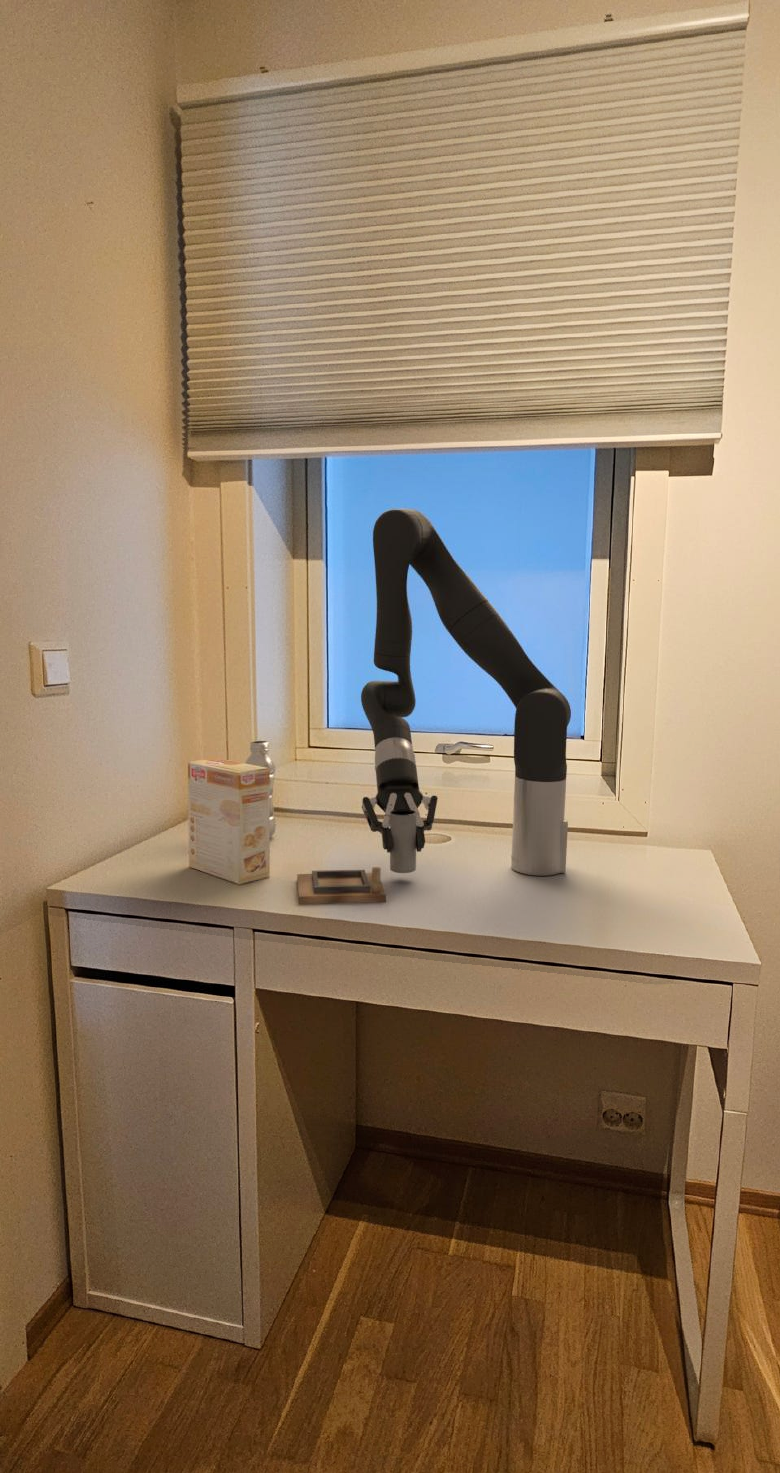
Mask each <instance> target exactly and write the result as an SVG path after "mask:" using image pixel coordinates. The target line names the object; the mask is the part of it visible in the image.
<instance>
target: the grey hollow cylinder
mask: <svg viewBox="0 0 780 1473" xmlns="http://www.w3.org/2000/svg"><path fill="white" fill-rule="evenodd" d="M389 828H390V830H391V839H392V851H391V852H390V853H389V870H390V871H392V872H393V873H396V874H410V873H414V872H415V871H417V850H416V812H415V811H413V810H408V809H398V810H393V811H391V812H390V827H389Z"/></svg>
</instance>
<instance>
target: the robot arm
mask: <svg viewBox="0 0 780 1473" xmlns="http://www.w3.org/2000/svg"><path fill="white" fill-rule="evenodd" d="M372 546H373V547H372V548H373V557H374V558H373V559H374V560H373V561H374V572H375V574H374V575H375V592H376V595H375V596H376V620H375V621H376V622H375V636H374V637H375V638H374V647H373V664H374V666H375V667H376V668H377V669H379V670H382V671H386V672H390V673H392V674H394V675H396V676H397V681H389V680H371V681H368V682H366V684H365V685H364V686H363V688H362V690H361V692H360V693H361V694H360V701H361V706H362V709H363V712H364V715H365V717H366V719H367V720H368V723H369V725H370V728H371V731H372V733H373V741H374V742H373V743H374V770H375V776H376V777H375V779H376V787H377V788H376V789H377V793H376V795H375V797H371V798H369V797H368V796H364V797H363V798H362V799H361V800H362V802H361V808H362V811H363V814H364V816H365V819H366V822H367V823H368V826H369V829H370V831H371V832H372V833H374V832H377V833H378V832H379V833H380V834H381V840H382V848H383V850H386V852H387V854H388V853H389V854H390V852H391V851H392V839H391V830H390V812H391V811H393V810H398V809H408V810H413V811H415V812H416V853H418V852H419V853H421V852H422V849H424V848H425V845H426V837H425V831H431V830H432V828H433V823H434V819H435V816H436V815H435V814H436V809H437V804H438V798H439V797H438V796H437V795H431V796H425V795H423V793H422V792H421V790H420V786H419V779H418V778H419V777H418V769H417V761H416V755H415V751H414V749H413V741H412V733H411V727H410V724H409V722H408V721H407V720H406V719H405V718H407V717H409V716H411V715H412V713H413V712H414V710H415V708H416V704H417V703H416V702H417V701H416V699H417V698H416V695H415V689H414V685H413V679H412V672H411V654H412V653H411V652H412V651H411V650H412V641H413V619H412V614H411V613H412V612H411V608H410V603H409V597H408V574H409V567H411V568H412V569H413V570H414V571H415V573H416V574H417V575H418V576H419V577H420V578H421V579H422V581H423V582H424V583H425V585H426V587H427V589H428V590H429V593H430V596H431V597H432V600H433V603H434V606H435V609H436V611H437V614H438V616H439V618H440V621H441V623H442V624H443V626H444V628H445V629H446V631H447V632H448V634H450V636H451V637H452V638H453V640H454V641H455V643H456V644H457V645H458V646H459V647H460V648H461V650H462V651H463V652H464V653H465V654H466V656H468V657H469V658H470V659H471V660H472V662H474V663H475V664H476V665H478V666H479V668H480V669H482V670H483V671H484V672H485V673H486V674H488V675H489V676H490V677H491V678H493V680H494V681H496V682H497V684H498V685H499V686H500V687H501V688H502V689H503V691H504V692H505V694H506V695H507V697H508V698H509V699H510V701H511V702H512V704H513V705H514V708H515V709H516V710H515V714H514V730H513V763H514V792H513V813H512V814H513V817H512V836H511V837H512V841H511V866H510V867H511V869H512V870H513V871H515V872H516V873H517V872H518V873H520V874H525V875H528V876H529V875H530V876H541V877H543V876H553V875H554V876H555V875H558V874H560V873H563V874H565V873H566V871H567V870H566V869H567V852H568V851H567V848H568V831H569V830H568V829H569V822H568V821H567V819H565V812H566V811H565V810H566V791H567V790H566V788H567V776H568V775H567V772H568V770H567V769H568V764H567V739H568V738H567V735H568V726H569V724H570V722H571V718H572V710H571V709H572V708H571V706H570V703H569V701H568V699H567V698H566V696H565V695H564V694H563V693H562V692H561V691H560V690H559V689H558V688H557V687H556V686H555V685H554V684H553V683H552V682H551V681H550V680H549V679H548V678H547V677H546V676H545V674H543V673H542V671H541V670H539V668H538V667H537V666H536V665H535V664H534V663H533V662H532V660H531V659H530V657H529V656H528V655H527V653H526V652H525V650H524V648H523V647H522V645H521V643H520V642H519V641H518V639H517V638H516V636H515V635H514V633H513V631H512V630H511V629H510V627H509V626H508V625H507V623H506V622H505V620H504V618H502V616H501V615H500V613H499V612H498V611H497V610H496V608H495V607H494V605H492V604H491V602H490V601H489V600H488V598H487V597H486V596H485V595H484V594H483V592H481V590H480V589H479V587H477V585H476V584H475V583H474V582H473V580H472V579H471V578H470V576H469V575H468V574H467V573H466V572H465V570H464V569H463V568H462V567H461V566H460V565H459V563H458V562H457V560H455V558H454V557H453V555H452V554H451V552H450V551H449V549H448V547H447V546H446V544H445V543H444V541H443V540H442V538H441V537H440V534H438V532H437V530H436V528H435V526H434V524H432V522H431V521H430V520H429V518H428V517H427V516H426V515H425V514H424V513H422V512H421V511H419V510H417V509H412V508H392V509H388V510H386V511H383V512H382V513H381V514H380V515H379V516H378V517H377V518H376V521H375V522H374V525H373V529H372ZM421 804H423V807H424V809H425V810H427V814H426V819H425V820H423V818H422V817H421V814H420V811H419V807H420V806H421ZM376 805H377V806H378V807H379V808H380V809H381V810H382V811H383V813H384V817H383V820H382V821H379V818H378V816H377V814H376V812H375V809H376Z"/></svg>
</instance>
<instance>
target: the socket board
mask: <svg viewBox="0 0 780 1473" xmlns="http://www.w3.org/2000/svg"><path fill="white" fill-rule="evenodd" d="M381 870H382V868H381V867H380V866H372V868H371V872H366V870H365V869H335V870H334V869H333V870H332V869H331V870H328V869H327V870H325V869H324V870H323V869H322V870H311V873H297V875H296V876H297V878H296V883H297V895H298V896H297V897H298V905H306V904H307V905H308V904H309V903H311V904H312V903H315V904H348V903H349V904H350V903H351V904H352V903H355V902H357V903H383V902H384V903H386V902H387V893H386V891H385V888H384V885H383V882H382V881H381V880H382V879H381V876H382V875H381V874H382V873H381V872H382V871H381ZM311 904H310V905H311Z"/></svg>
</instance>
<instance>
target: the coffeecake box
mask: <svg viewBox="0 0 780 1473" xmlns="http://www.w3.org/2000/svg"><path fill="white" fill-rule="evenodd" d="M187 787H188V789H187V792H188V793H187V794H188V797H187V798H188V799H187V800H188V801H187V804H188V867H189V868H192V869H194V870H197V871H201V872H203V873H206V874H209V875H211V876H215V877H217V878H220V879H222V880H226V881H227V882H228V881H229V882H231V883H235V884H237V885H243V884H247V883H250V882H254V881H258V880H263V879H267V878H270V877H271V875H270V874H271V872H270V871H271V870H270V868H271V867H270V866H271V865H270V863H271V862H270V861H271V860H270V858H271V857H270V852H271V851H270V850H271V849H270V848H271V847H270V846H271V844H270V843H271V842H270V838H271V837H270V768H266V767H261V766H255V765H250V764H245V762H241V761H240V762H238V761H235V760H234V761H233V760H228V759H223V758H218V757H216V758H214V757H213V758H207V759H200V760H192V761H188V762H187Z"/></svg>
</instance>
